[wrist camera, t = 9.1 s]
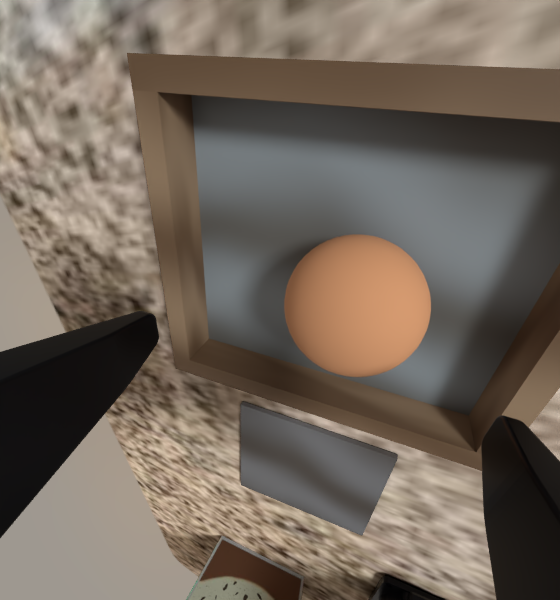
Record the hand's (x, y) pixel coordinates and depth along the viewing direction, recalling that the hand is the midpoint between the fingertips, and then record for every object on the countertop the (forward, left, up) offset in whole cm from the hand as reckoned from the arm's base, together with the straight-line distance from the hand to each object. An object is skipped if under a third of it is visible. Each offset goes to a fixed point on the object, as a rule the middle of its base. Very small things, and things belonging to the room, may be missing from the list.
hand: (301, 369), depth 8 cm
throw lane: (-7, 0, -7) cm, 10 cm away
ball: (0, -1, -4) cm, 4 cm away
